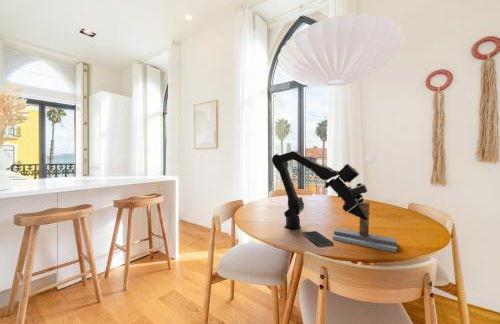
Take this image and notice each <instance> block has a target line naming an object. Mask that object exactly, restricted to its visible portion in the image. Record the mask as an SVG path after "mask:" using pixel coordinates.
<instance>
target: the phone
mask: <svg viewBox="0 0 500 324" xmlns="http://www.w3.org/2000/svg"><path fill="white" fill-rule="evenodd" d="M302 235H303V236H304V237H305V238H306V239H307V240H308V241H310V242H311V243H312V244H314V245H315V247H329V246H331V247H332V246H334V242H333V241H332V240H330V239H329V238H327V237H326V236H324V235H323V234H321V233H320V232H318V231H315V230H314V231H303V232H302Z"/></svg>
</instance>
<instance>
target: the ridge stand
mask: <svg viewBox="0 0 500 324" xmlns="http://www.w3.org/2000/svg"><path fill="white" fill-rule="evenodd" d="M332 240H333V241H334V240H335V241H338V242H344V243H348V244H353V245H359V246H362V247H369V248H372V249H377V250H382V251H388V252H392V253H397V247H398V246H397V241H398V239H397V238H395V237H388V236H383V235H378V234H374V233H373V234H372V233H369V235H368V236H361V235H360V234H359V231H354V230H348V229H344V228H338V227H336V228H335V229H334V230H333V235H332Z"/></svg>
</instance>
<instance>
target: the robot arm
mask: <svg viewBox="0 0 500 324" xmlns="http://www.w3.org/2000/svg"><path fill="white" fill-rule="evenodd" d="M292 160H293V161H295V162H297V163H299V164H301V165H302V166H304V167H306V168H307V169H309V170H311V171H312V172H314V174H315V175H316V176H317V178H320V179H321V180H322V181H325V182H324V183H325V184H324V185H325V186H324V189H327V188H329V187H330V188H331V189H332V190H333V192H335V194H337V198H340V199H341V200H342V201H343V202H344V203H343V205H342V210H343V211H344V212H345V213H348V214H351V215H353V216H355V217H358V218H359V219H360V218H361V219H363V220H367V219H368V218H367V217H366V215H365V214H364V213H363V211H362V210H361V209H360V202H364V196H363V194H365V193H367V192H368V188H367V186H366V184H364V183H361V182H359V183H357V184H356V186H355V187H353V188H352V187H351V186H348V185H347V184H346V183H351V182H352V181H353V180H354V179H355V178H357V177H358V176H360V173H359V172H358V171H357V170H356V168H355V167H353V166H351V165H350V164H349V163H346V164H345V165H344V166H343V167H342V168H341V169H340V170H333V169H334V168H332V167H329V166H326V165H324V164H319V163H317V162H315V161H314V160H312V159H310V158H308V157H306V156H304V155H303V154H301V153H300V152H298V151H296V150H291V151H290V152H286V153H277V154H274V155H273V156H272V158H271V162H272V164H273V166H274V167H275V168H276V170H277V171H278V172H279V175H280V178H281V181H282V184H283V186H284V190H285V192H286V196H287V210H285V211H284V213H283V214H284V217H285V225H284V226H283V227H284V228H286V229H290V230H291V231H292V230H293V231H295V230H297V229H300V228H301V227H302V226H301V224H300V223H301V219H300V214H301V213H302V212H303V210H304V208H305V206H304V205H305V203H304V201H303V197H301V196H300V197H299V196H298V195H297V193H296V189H295V186H294V184H293V183H294V182H293V181H292V178H291V176H290V172H289V170H288V169H289V163H288V162H290V161H292ZM335 177H336V178H335ZM328 180H329V181H328ZM369 215H371V213H370V212H369Z"/></svg>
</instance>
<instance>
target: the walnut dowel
mask: <svg viewBox="0 0 500 324" xmlns="http://www.w3.org/2000/svg"><path fill="white" fill-rule="evenodd" d="M360 209H361V210H362V211H363V213H364V214H365V215H366V217H367V218H368V219H367V220H363V219H361V218H359V231H358V232H359V234H360V235H361V236H368V235H369V234H370V232H369V231H370V230H369V228H370V227H369V226H370V214H369V213H370V203H369V202H367V201H363V202H360Z"/></svg>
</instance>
